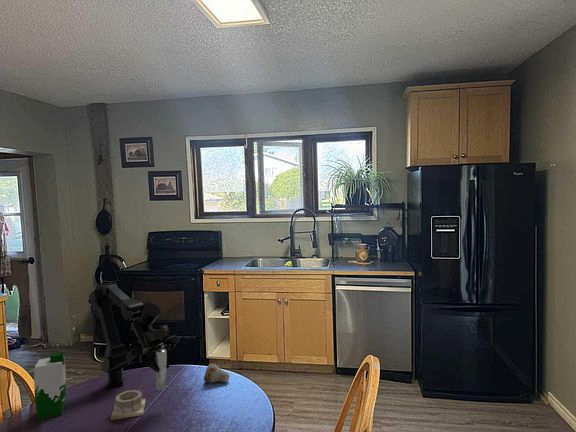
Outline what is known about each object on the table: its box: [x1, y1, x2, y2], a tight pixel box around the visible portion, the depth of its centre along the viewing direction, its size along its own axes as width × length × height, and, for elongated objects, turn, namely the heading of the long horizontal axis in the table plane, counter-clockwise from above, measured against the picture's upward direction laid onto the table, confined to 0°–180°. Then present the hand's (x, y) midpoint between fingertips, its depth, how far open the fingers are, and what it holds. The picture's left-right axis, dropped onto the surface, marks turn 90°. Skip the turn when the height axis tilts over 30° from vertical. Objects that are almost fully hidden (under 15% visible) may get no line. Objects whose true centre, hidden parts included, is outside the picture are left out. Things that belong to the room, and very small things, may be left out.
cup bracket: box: [110, 389, 146, 421], centre depth 133 cm, size 10×10×5 cm
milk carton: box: [33, 351, 67, 420], centre depth 132 cm, size 9×9×20 cm
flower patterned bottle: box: [203, 363, 230, 384], centre depth 154 cm, size 8×10×10 cm
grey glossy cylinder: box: [155, 349, 168, 391], centre depth 134 cm, size 4×4×13 cm
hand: (163, 369), depth 133 cm, fingers closed on grey glossy cylinder, 4 cm apart
